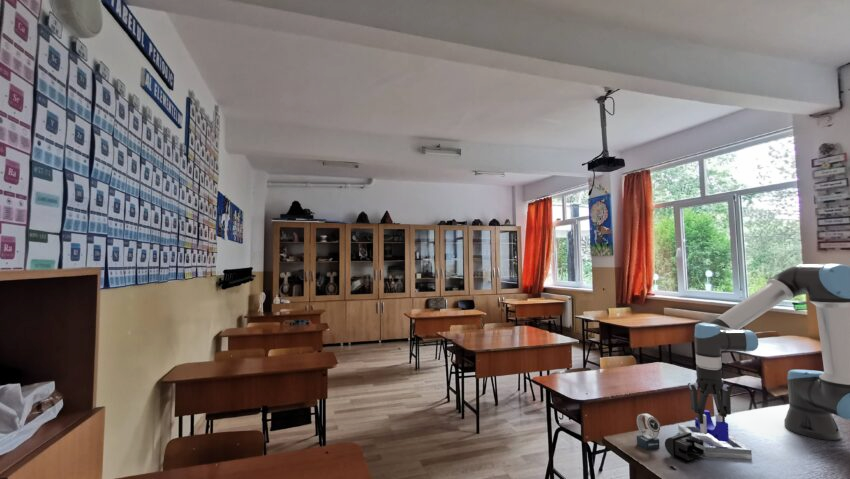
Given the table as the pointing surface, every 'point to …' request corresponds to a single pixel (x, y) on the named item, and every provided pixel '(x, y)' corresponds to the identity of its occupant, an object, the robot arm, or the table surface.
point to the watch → (647, 439)
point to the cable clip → (715, 428)
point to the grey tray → (717, 444)
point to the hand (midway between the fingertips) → (711, 433)
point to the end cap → (684, 448)
